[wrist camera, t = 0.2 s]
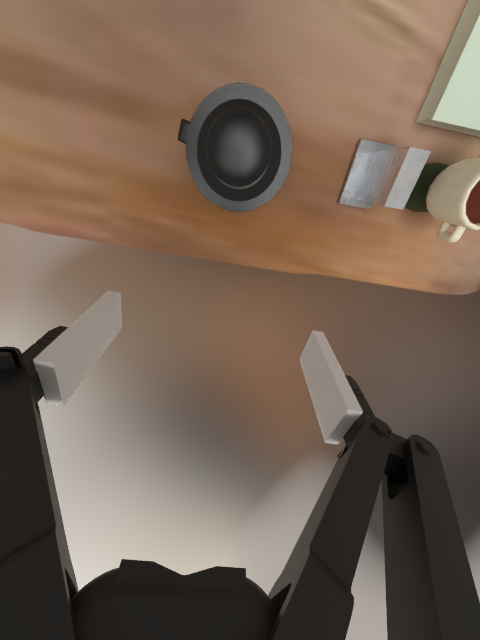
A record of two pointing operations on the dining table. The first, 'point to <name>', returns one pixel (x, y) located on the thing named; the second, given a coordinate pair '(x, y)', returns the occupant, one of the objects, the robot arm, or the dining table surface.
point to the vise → (382, 175)
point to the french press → (238, 147)
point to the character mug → (449, 196)
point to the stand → (457, 79)
